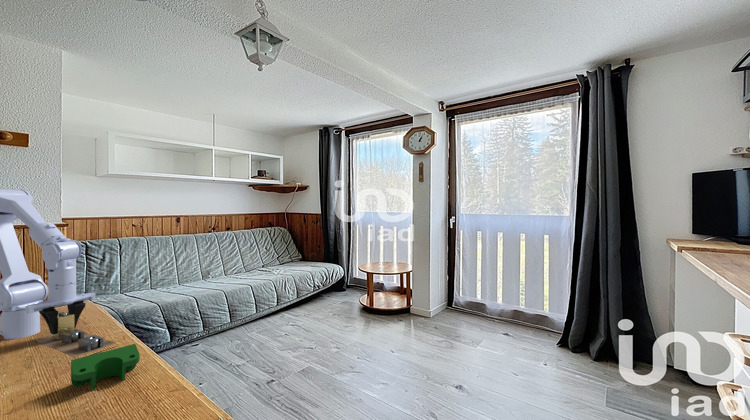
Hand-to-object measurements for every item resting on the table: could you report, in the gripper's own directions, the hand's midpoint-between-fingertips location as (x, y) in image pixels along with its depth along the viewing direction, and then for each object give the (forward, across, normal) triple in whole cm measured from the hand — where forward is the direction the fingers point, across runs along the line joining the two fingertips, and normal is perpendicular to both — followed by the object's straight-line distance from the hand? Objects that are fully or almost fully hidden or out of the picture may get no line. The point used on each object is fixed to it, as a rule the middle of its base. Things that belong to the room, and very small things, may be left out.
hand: (63, 331), depth 92 cm
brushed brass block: (+1, 0, 0) cm, 1 cm away
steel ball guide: (+2, 0, -11) cm, 11 cm away
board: (+3, 0, -7) cm, 8 cm away
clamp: (+3, -6, -36) cm, 36 cm away
